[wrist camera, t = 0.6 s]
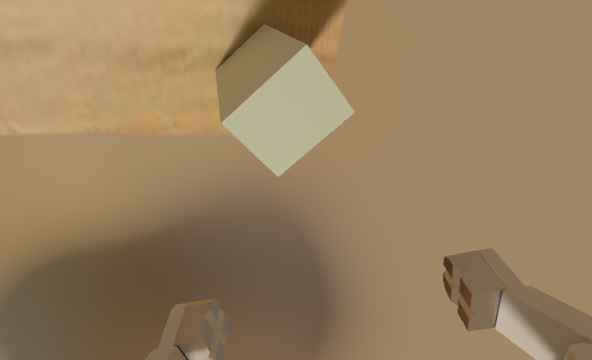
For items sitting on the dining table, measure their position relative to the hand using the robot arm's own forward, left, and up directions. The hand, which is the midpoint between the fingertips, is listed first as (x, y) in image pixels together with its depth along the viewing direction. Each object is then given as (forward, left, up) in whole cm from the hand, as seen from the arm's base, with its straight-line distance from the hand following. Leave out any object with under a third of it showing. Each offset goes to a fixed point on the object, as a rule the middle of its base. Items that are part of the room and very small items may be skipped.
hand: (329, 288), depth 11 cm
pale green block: (+3, +1, -43) cm, 43 cm away
